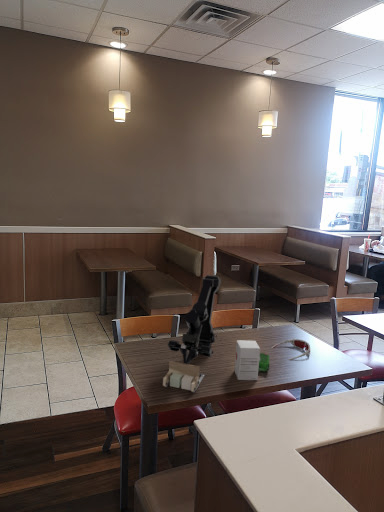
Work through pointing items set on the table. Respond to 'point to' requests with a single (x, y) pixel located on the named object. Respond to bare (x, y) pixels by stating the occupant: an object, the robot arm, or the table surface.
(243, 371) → the supplement box
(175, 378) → the sage block
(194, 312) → the robot arm
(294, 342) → the sunglasses
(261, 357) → the snack package
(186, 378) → the cream block
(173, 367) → the toy sofa
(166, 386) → the steel handle
